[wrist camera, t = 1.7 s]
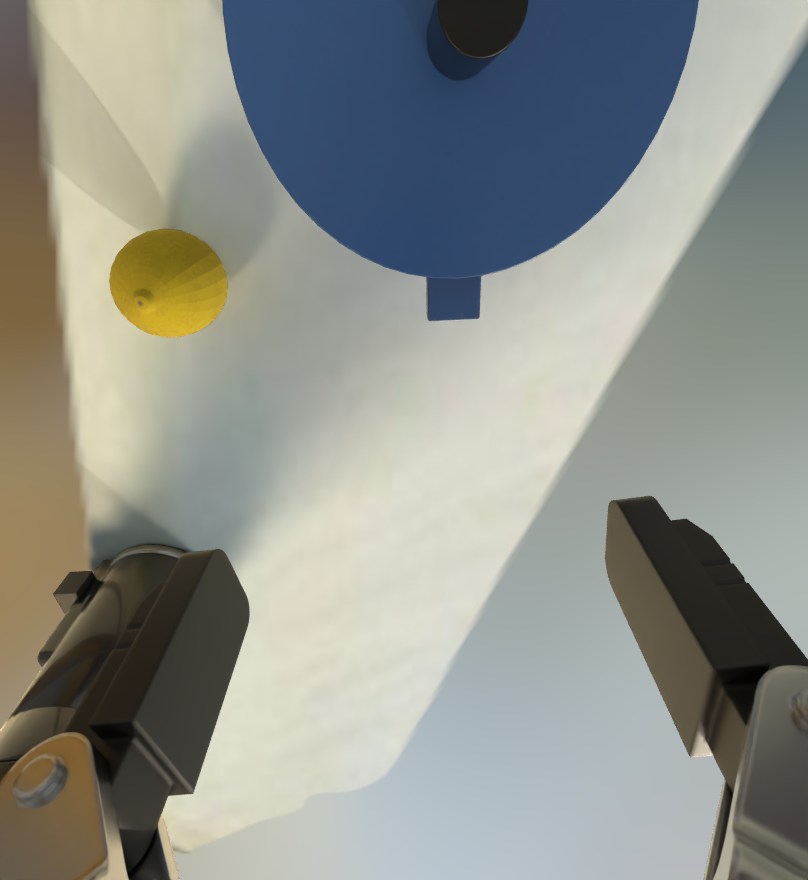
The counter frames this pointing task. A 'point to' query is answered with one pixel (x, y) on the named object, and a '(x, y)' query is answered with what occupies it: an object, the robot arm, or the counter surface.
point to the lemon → (168, 283)
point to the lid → (455, 117)
